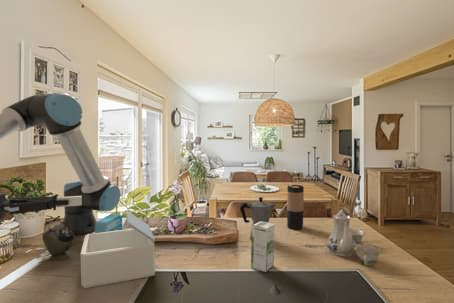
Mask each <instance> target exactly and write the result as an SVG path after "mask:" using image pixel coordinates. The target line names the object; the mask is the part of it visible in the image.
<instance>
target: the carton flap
mask: <svg viewBox="0 0 454 303" xmlns="http://www.w3.org/2000/svg"><path fill="white" fill-rule="evenodd" d="M124 212H125V217H126V222H127V225H128V226H129V227H131V229H135V230H137V231H138V232H140V233H141V234H143V235H144V236H146V237H147V238H149V239H150V240H152V241H153V242H154V243H155V242H156V239H155V236H154V234H153V232H152V230H151V227H150V225H149V224H147V223H146V222H144V221H143V220H142V219H140V218H139V217H138V216H135V215H134V214H133V213H131V212H130V211H128V210H127V209H126V210H125V211H124Z"/></svg>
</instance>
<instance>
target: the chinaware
mask: <svg viewBox="0 0 454 303" xmlns="http://www.w3.org/2000/svg"><path fill="white" fill-rule="evenodd" d="M332 218H333V229H332V231H331V233H330V235H329V236H328V238H327V240H326V243H325V245H326V247H327V248H328V249H329V250H328V251H329V252H330V253H331V254H332V255H336V256H338V257H339V256H340V257H351V256H353V254H354V252H355V253H356V256H357V258H358V259H359V260H360V261H361V263H362V264H363V265H366V266H367V265H368V266H370V265H373V263H374V262H376V261H377V260H378V259H379V256H380V254H381V252H382V249H381V248H380V247H375V246H374V245H372V244H370V243H364V244H360V242H361V241H362V240H363V236H365V235H366V232H363V230H361V229H358V228H357V229H356V228H355V229H353V228H350V221H351V218H352V217H351V216H350V215H347V214H346V212H344V210H343V209H340V210H339V212H337V213H336V214H332Z"/></svg>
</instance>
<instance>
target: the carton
mask: <svg viewBox="0 0 454 303" xmlns="http://www.w3.org/2000/svg"><path fill="white" fill-rule="evenodd" d="M155 246H156V245H155V242H153V241H152V240H150V239H149V238H147V237H146V236H144V235H143V234H141V233H140V232H138V231H137V230H135V229H134V228H129V229H127V228H126V229H122V230H119V231H110V232H102V233H95V232H94V233H86V234H84V239H83V243H82V247H81V250H80V279H81V280H80V283H81V287H83V289H89V288H94V287H99V286H106V285H110V284H116V283H117V284H118V283H120V282H128V281H133V280H137V279H142V278H149V277H154V276H156V264H155V262H156V259H155ZM148 276H149V277H148Z"/></svg>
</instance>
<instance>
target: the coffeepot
mask: <svg viewBox="0 0 454 303" xmlns="http://www.w3.org/2000/svg"><path fill="white" fill-rule="evenodd" d="M258 200H259V201H255V202H249V203H247V202H244V203H242V204H241V205H240V207H239V211H240V212H241V216H242V219H243V222H244V223H246V224H248V223H250V220H249V219H247V215H246V211H245V208H246V209H250V215H251V220H252V225H254V224H256V223H258V222H268V223H270V218H271V214H272V212H273V210H274V209H275V207H276V206H277V205H276V204H275V203H270V202H265V201H263V200H264V198H263V197H258ZM252 225H251V226H252ZM249 240H250V241H252V228H251V230H250V236H249Z"/></svg>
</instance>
